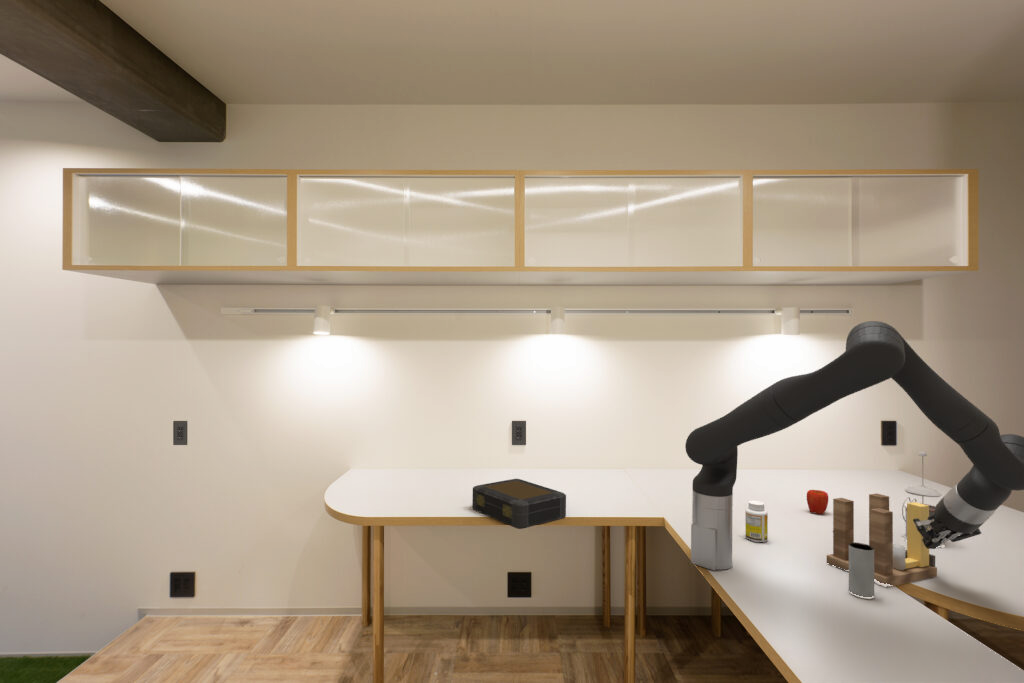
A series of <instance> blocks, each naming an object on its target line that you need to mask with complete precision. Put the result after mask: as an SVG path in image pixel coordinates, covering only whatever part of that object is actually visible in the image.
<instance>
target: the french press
mask: <svg viewBox="0 0 1024 683" xmlns="http://www.w3.org/2000/svg"><path fill="white" fill-rule="evenodd" d="M918 456H920V457H921V458H922V459H921V460H922V462H921V465H922V466H921V467H922V468H921V473H922V474H921V476H922V478H921V479H922V480H921V481H922V485H913V486H909V487H907V488H905V489H904V491H905V492H906V493H907V494H910V495H913V496H917V497H918V496H919V497H922V501H921V502H922V503H921V502H920V504H924V505H928V506H929V516H931V515H933V514H934V512H935V507H936V505H931V504H926V503H924V497H927V498H938V497H939V498H940V497H941V496H942V493H940V492H939V491H938V490H936V489H935V488H932V487H928V486H925V485H924V457H928V454H927V452H926V451H919V452H918ZM907 500H909V503H913V502H916V503H917V499H916V498H913V499H912V500H911V497H910V496H908V497H906V498H905V499H904V501H903V503H902V507H901V515H902V519H903V520H904V522H905V534H903V535H902V536H903V538H904V539H905V540H907V508H906V512H905V515H904V508H905V507H904V504H906V501H907ZM929 528H930V526H929ZM944 544H945V543H942V544H941V545H940V546H942V545H944Z"/></svg>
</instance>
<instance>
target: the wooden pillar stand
mask: <svg viewBox="0 0 1024 683" xmlns="http://www.w3.org/2000/svg"><path fill="white" fill-rule="evenodd" d="M832 500H833V502H832V503H833V506H832V508H833V510H832V511H833V512H832V513H833V514H832V516H833V517H832V518H833V522H832V523H833V524H832V526H833V528H832V529H833V530H832V532H833V533H832V539H833V540H832V541H833V545H832V546H833V547H832V553H831V554H826V564H827V563H829V564H831V565H830V566H832V565H834V566H836V567H835V568H837V567H840V568H842V569H845V570H849V543H853V542H855V540H854V539H855V534H854V532H855V530H854V529H855V528H854V527H855V524H854V522H855V521H854V518H855V517H854V516H855V514H854V513H855V512H854V511H855V510H854V505H855V503H854V500H852V499H847V498H844V497H838V498H837V497H836V498H833V499H832ZM893 514H894V513H893V511H891V510H890V496H889V495H885V494H881V493H870V494H868V535H869V536H868V545H870V546H872V547H873V548H874V579H876V580H877V581H879V582H880V583H884V584H886V583H887V584H890V585H893V586H892V587H894V586H899V585H904V584H908V583H913V582H918V581H922V580H927V579H930V578H931V579H932V578H935V577H938V567H936V555H934V554H931V553H929V566H925V567H919V566H917V567H912V568H907V569H905V570H898V569H895V568H893V543H894V540H893V538H894V530H893V529H894V526H893V525H894V522H893V519H894V517H893V516H894V515H893ZM905 558H907V549H905ZM829 564H828V565H829ZM834 566H833V567H834Z"/></svg>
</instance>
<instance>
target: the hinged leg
mask: <svg viewBox="0 0 1024 683" xmlns="http://www.w3.org/2000/svg"><path fill="white" fill-rule="evenodd" d="M920 503H921V502H920ZM920 503H919V502H917V501H916V502H915V501H913V503H911V502H907V503H906V504H907V542H906V547H905V546H904V545H901V544H896V543H894V544H893V568H895V569H898V570H905V569H907V568H912V567H917V566H919V567H925V566H929V554H930V549H927V548H926V546H925V545H924V543H923V541H922V539H923V536H922V535H921V534H920V533H919V531H918V530H917V528H916V526H915V524H914V521H913V519H919V520H920V521H921V520H923V521H924V520H927V518H928V517H929V506H928V505H929V504H927V505H924V504H925V503H923V504H922V503H921V504H920ZM927 530H929V527H928V529H927ZM905 550H907V558H905Z"/></svg>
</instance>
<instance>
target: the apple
mask: <svg viewBox="0 0 1024 683" xmlns="http://www.w3.org/2000/svg"><path fill="white" fill-rule="evenodd" d="M806 503H807V506H808V510H809V511H810V512H811V513H812V514H819V515H820V514H821V515H822V514H824V513H825V512H826V510H827V509H828V504H829V493H827V492H826V491H824V490H820V489H817V490H816V489H809V490H807V491H806Z"/></svg>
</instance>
